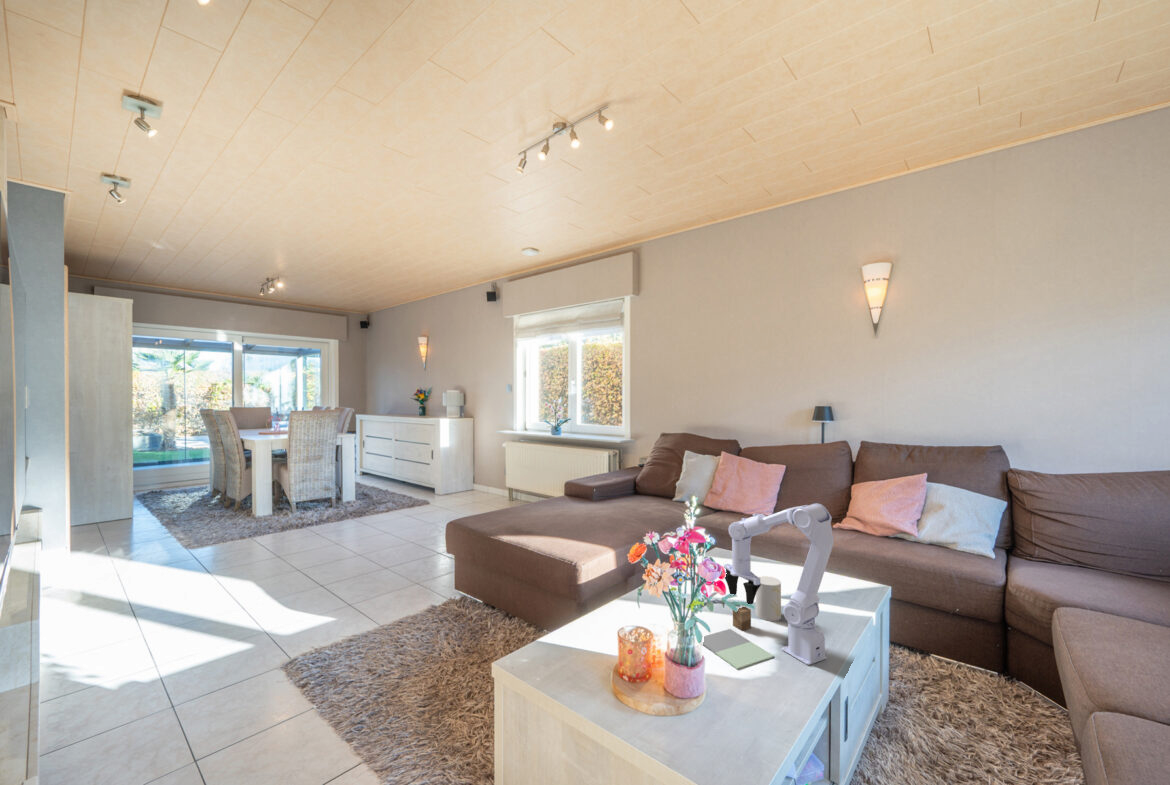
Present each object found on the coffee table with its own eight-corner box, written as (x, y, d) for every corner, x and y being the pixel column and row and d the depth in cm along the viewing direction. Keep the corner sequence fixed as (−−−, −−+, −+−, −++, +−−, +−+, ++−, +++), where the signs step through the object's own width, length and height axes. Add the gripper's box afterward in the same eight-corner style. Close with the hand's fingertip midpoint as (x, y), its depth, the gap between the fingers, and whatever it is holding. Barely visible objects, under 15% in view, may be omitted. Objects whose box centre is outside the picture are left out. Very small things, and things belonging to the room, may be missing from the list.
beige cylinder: (777, 623, 160) (776, 587, 160) (752, 616, 165) (752, 581, 165) (783, 614, 166) (783, 579, 166) (760, 608, 171) (759, 574, 171)
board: (774, 657, 139) (774, 655, 139) (737, 669, 133) (737, 668, 133) (730, 630, 156) (730, 628, 156) (695, 639, 149) (695, 638, 149)
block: (750, 628, 157) (750, 609, 157) (741, 630, 155) (741, 612, 155) (742, 623, 160) (741, 605, 160) (732, 625, 159) (732, 607, 159)
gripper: (716, 553, 163) (716, 593, 163) (748, 566, 150) (748, 610, 149) (732, 550, 166) (732, 589, 166) (765, 563, 153) (765, 606, 153)
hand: (741, 599), depth 158 cm, fingers open, 7 cm apart
